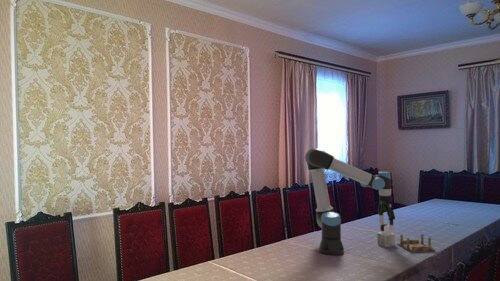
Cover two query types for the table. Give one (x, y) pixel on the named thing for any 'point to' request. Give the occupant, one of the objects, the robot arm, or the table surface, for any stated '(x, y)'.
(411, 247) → the tray
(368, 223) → the table surface
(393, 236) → the container
